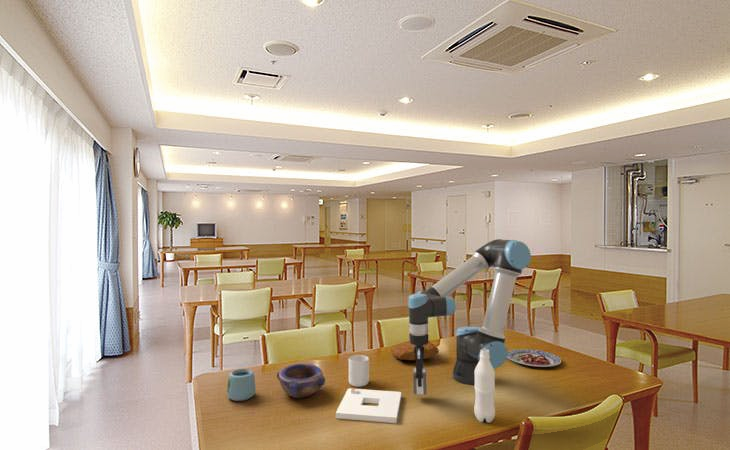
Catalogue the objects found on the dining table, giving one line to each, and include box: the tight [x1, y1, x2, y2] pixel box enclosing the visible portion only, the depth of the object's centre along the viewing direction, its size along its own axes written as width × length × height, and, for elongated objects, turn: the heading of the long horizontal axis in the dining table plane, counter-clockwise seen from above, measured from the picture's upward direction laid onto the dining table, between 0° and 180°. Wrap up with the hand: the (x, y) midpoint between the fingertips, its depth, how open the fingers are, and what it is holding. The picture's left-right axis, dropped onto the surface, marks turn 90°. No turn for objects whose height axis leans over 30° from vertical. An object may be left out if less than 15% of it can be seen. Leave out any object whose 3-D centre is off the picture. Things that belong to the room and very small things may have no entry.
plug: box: [412, 367, 428, 396], centre depth 165 cm, size 5×5×9 cm
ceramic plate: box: [507, 348, 562, 368], centre depth 210 cm, size 26×26×3 cm
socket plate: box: [335, 388, 402, 424], centre depth 158 cm, size 22×22×3 cm
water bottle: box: [473, 349, 496, 424], centre depth 148 cm, size 7×7×25 cm
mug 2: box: [348, 354, 370, 388], centre depth 182 cm, size 12×9×11 cm
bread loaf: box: [390, 340, 440, 361], centre depth 213 cm, size 22×17×8 cm
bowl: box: [276, 362, 326, 399], centre depth 170 cm, size 18×18×10 cm
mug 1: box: [226, 368, 257, 402], centre depth 169 cm, size 15×11×10 cm
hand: (420, 390), depth 165 cm, fingers closed on plug, 5 cm apart
